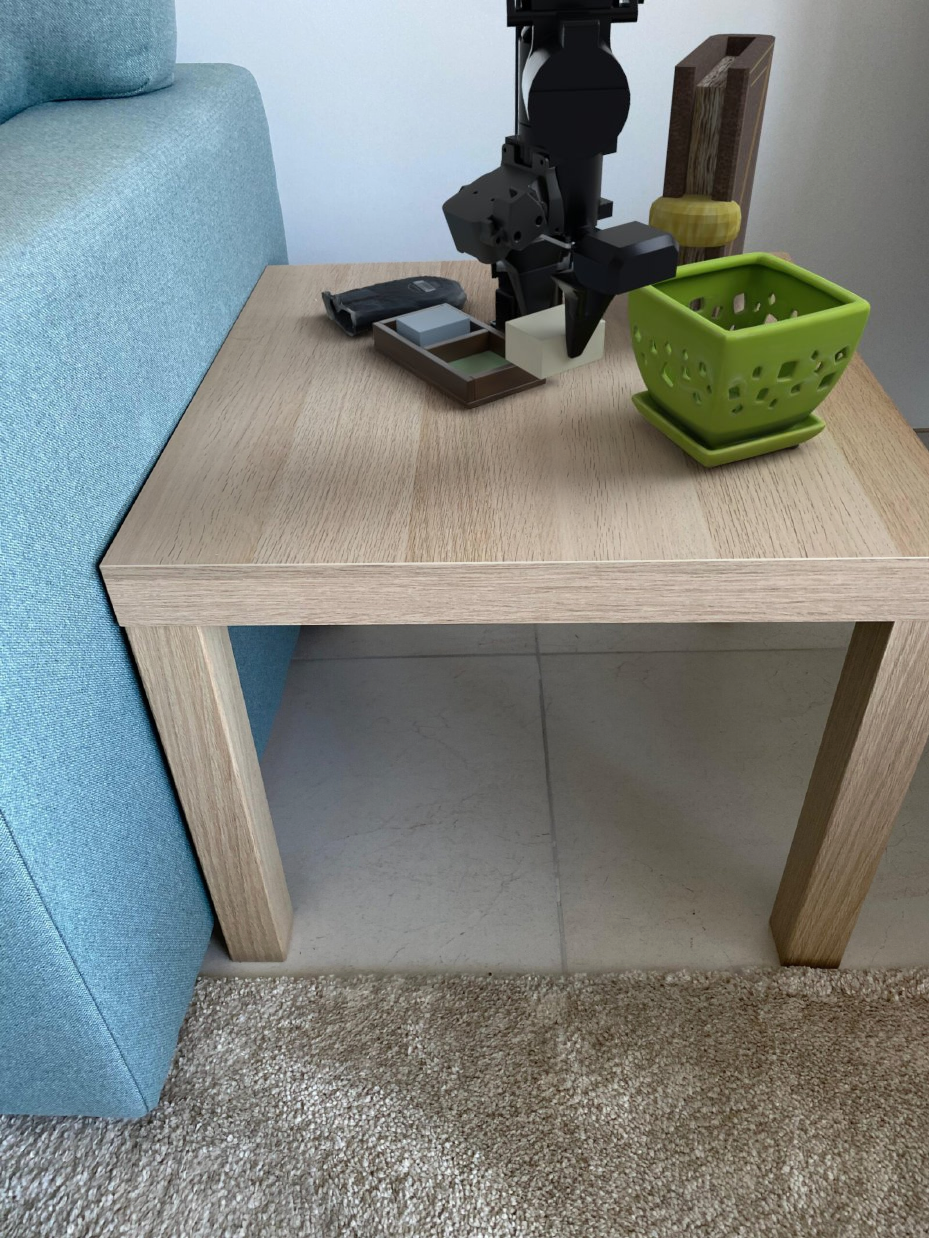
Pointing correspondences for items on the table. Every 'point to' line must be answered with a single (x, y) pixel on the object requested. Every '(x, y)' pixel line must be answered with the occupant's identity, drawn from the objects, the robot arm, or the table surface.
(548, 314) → the cream rectangular block
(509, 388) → the shallow rectangular tray
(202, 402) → the table surface
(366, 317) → the electronic device
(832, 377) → the flower pot
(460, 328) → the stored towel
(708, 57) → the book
